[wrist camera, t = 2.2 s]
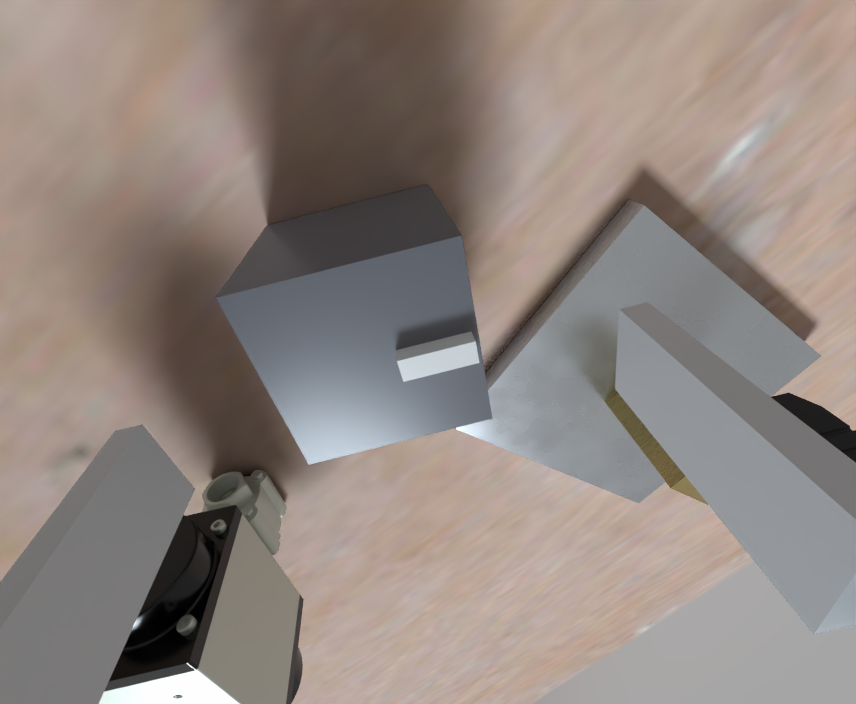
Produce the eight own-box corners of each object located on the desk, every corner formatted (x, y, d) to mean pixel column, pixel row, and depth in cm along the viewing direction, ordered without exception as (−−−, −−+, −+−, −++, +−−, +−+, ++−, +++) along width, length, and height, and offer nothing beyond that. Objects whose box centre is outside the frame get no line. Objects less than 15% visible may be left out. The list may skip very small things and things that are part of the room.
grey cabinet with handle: (324, 357, 21) (306, 477, 14) (266, 225, 17) (208, 308, 11) (456, 324, 21) (497, 430, 14) (428, 184, 17) (466, 242, 10)
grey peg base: (451, 414, 24) (481, 525, 18) (629, 198, 18) (759, 253, 12) (629, 489, 30) (696, 590, 24) (802, 344, 24) (945, 428, 18)
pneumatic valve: (248, 412, 22) (150, 688, 12) (319, 537, 28) (294, 783, 18) (145, 436, 22) (-40, 731, 12) (240, 555, 28) (172, 812, 18)
